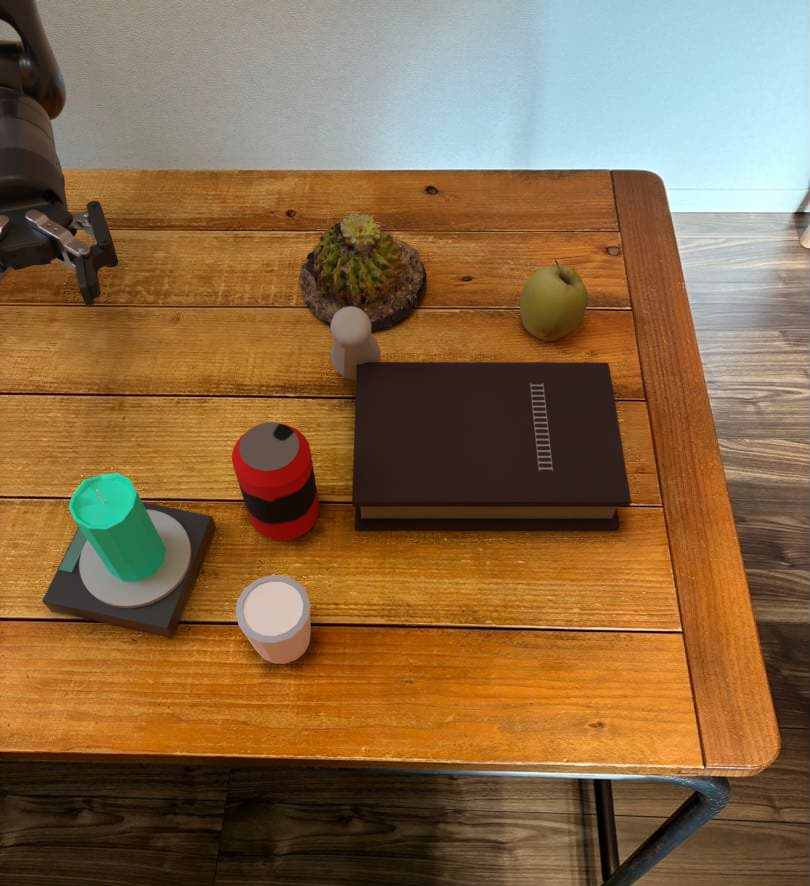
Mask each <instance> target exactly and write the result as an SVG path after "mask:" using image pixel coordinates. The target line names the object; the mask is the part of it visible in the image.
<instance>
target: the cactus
mask: <svg viewBox="0 0 810 886" xmlns="http://www.w3.org/2000/svg"><path fill="white" fill-rule="evenodd" d="M387 231H388V230H385V227H384V226H383V227H381V224H378V223H377V222H375V220H374V215H368V214H365V212H363V211H361V213H360V215H359V214H358V213H357V212H355V214H353V212H351V213H349V214H348V215H347V218H345V217H342V220H339V222H334V223H333V226H329V227H327V229H326V231H324V232H323V233H322V234H320V236H319V237H318V239H319V242H318V244H316V246H315V247H312V248H313V249H312V251H310V252H308V254H307V256H306V259H305V260H304V262H303V263H302V267H301V271H300V276H299V277H300V278H299V279H300V282H299V283H300V288H301V293H302V298H303V299H304V302H305V304H307V305H308V308H309V309H310V311H311V312H312V313H313V314H314V315H315V316H316V317H317V318H318V319H319V320H321V321H323V322H326V324H328V326H330V327H331V320H332V319H333V317H334V315H335V313H336V312H338V311H339V310H340V309H342V308H345V307H350V306H352V307H356V308H360V309H361V310H362V311H363V312H365V313H366V314H367V315H368V317H369V320H370V322H371V331H376V330H380V329H383V328H389V327H392V326H394V325H395V324H396V323H397V322H399V321H401V320H404V319H405V317H407V316H408V315H409V314H411V313H412V311H413V309H414V308H416V306H417V304H419V302H420V301H421V300H422V297H423V296H424V293H425V291H426V287H427V283H428V282H427V280H428V279H427V277H428V276H427V272H426V268H425V265H424V263H423V262H422V259H421V256H420V255H419V252H418V251H417V249H415V248H414V247H412V246H411V245H410V244H409V243H407V242H406V241H403V240H400V239H398V237H396V238H394V236H393V235H392V233H393V232H390V230H389V231H388V233H387ZM385 232H386V233H385ZM314 237H315V236H313V238H314ZM315 241H316V240H315Z"/></svg>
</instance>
